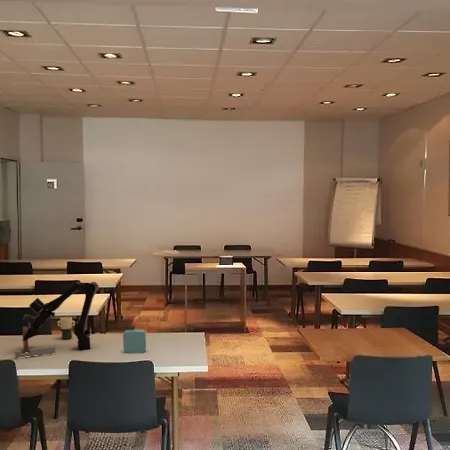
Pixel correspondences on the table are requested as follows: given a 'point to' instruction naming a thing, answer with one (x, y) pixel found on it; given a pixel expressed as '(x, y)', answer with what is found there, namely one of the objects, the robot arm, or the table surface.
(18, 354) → the grey crossbar
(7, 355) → the table surface
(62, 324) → the character mug
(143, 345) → the teal square block
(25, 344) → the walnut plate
